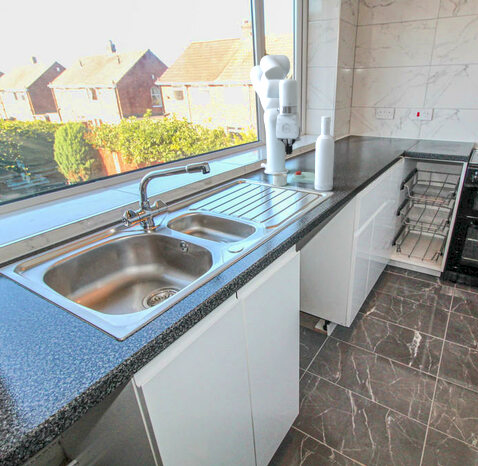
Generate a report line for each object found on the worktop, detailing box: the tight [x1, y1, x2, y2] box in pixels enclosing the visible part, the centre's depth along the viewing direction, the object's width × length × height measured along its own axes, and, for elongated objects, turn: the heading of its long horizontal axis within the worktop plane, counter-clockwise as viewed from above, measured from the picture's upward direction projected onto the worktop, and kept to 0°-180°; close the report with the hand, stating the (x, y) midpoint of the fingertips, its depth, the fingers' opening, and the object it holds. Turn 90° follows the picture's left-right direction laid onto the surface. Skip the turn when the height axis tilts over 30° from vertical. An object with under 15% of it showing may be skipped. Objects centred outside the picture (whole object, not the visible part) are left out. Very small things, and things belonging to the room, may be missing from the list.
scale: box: [291, 171, 315, 185], centre depth 158 cm, size 17×14×3 cm
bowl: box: [272, 173, 288, 187], centre depth 150 cm, size 6×7×5 cm
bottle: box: [314, 115, 336, 192], centre depth 138 cm, size 8×8×30 cm
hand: (288, 154), depth 148 cm, fingers closed
